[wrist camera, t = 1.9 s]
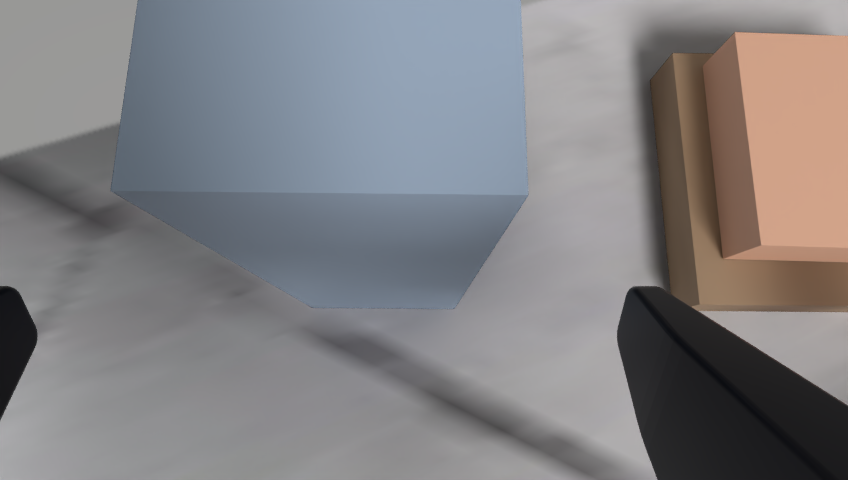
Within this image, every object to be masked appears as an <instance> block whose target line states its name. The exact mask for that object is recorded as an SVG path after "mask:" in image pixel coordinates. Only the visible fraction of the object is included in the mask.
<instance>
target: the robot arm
mask: <svg viewBox="0 0 848 480" xmlns="http://www.w3.org/2000/svg"><path fill="white" fill-rule="evenodd" d="M617 341H618V347H619V351H620V355H621V358H622V362H623V366H624V370H625V374H626V378H627V382H628V386H629V390H630V394H631V398H632V402H633V406H634V410H635V414H636V418H637V422H638V425H639V429H640V432H641V436H642V439H643V442H644V444H645V447H646V450H647V453H648V456H649V458H650V461H651V463H652V466H653V469H654V471H655V474H656V477H657V479H658V480H848V405H846V404H845V403H843V402H841V401H840V400H838V399H837V398H835V397H833V396H832V395H830V394H829V393H827V392H826V391H824V390H822V389H821V388H819V387H818V386H816V385H814V384H813V383H811V382H810V381H808V380H806V379H805V378H803V377H802V376H800V375H799V374H797V373H795V372H794V371H792V370H791V369H789V368H787V367H786V366H784V365H783V364H781V363H780V362H778V361H776V360H775V359H773V358H772V357H770V356H768V355H767V354H765V353H764V352H762V351H760V350H759V349H757V348H756V347H754V346H753V345H751V344H749V343H748V342H746V341H745V340H743V339H741V338H740V337H738V336H737V335H735V334H734V333H732V332H730V331H729V330H727V329H726V328H724V327H722V326H721V325H719V324H718V323H716V322H715V321H713V320H711V319H710V318H708V317H707V316H705V315H703V314H702V313H700V312H699V311H697V310H695V309H694V308H692V307H691V306H689V305H688V304H686V303H684V302H683V301H681V300H680V299H678V298H676V297H675V296H673V295H672V294H670V293H669V292H667V291H665V290H664V289H662V288H660V287H657V286H634V287H632V288H630V289H629V291H628V292H627V295H626V298H625V302H624V306H623V310H622V314H621V317H620V321H619V325H618V330H617ZM36 343H37V329H36V326H35V324H34V322H33V320H32V318H31V316H30V314H29V312H28V310H27V307H26V305H25V303H24V301H23V299H22V297H21V295H20V293H19V292H18V291H17V290H16V289H14V288H12V287H9V286H0V420H1V418H2V416H3V413H4V411H5V409H6V407H7V405H8V403H9V401H10V399H11V397H12V395H13V392H14V390H15V388H16V386H17V384H18V382H19V380H20V378H21V376H22V374H23V371H24V369H25V367H26V365H27V363H28V361H29V359H30V357H31V355H32V353H33V350H34V348H35V346H36Z"/></svg>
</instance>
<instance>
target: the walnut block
mask: <svg viewBox="0 0 848 480" xmlns="http://www.w3.org/2000/svg"><path fill="white" fill-rule="evenodd" d="M713 55H714V54H710V53H672V54H671V56H670V57H669V58H668V59H667V60H666V62H665V63H664V64H663V65H662V67H661V68H660V69H659V70H658V71H657V73H656V74H655V75H654V76H653V78H652V79H651V80H650V85H651V95H652V105H653V116H654V126H655V136H656V147H657V157H658V167H659V178H660V188H661V198H662V209H663V219H664V229H665V240H666V250H667V260H668V271H669V281H670V291H671V294H672V295H673V296H675V297H676V298H678V299H680V300H681V301H683V302H684V303H686V304H688V305H689V306H691V307H692V308H694V309H695V310H697V311H781V312H848V262H815V261H778V260H742V259H723V254H722V245H721V235H720V226H719V217H718V207H717V198H716V188H715V179H714V169H713V160H712V151H711V141H710V132H709V122H708V113H707V103H706V94H705V85H704V75H703V65H704V64H705V63H706V62H707V61H708V60H709V59H710V58H711V57H712V56H713Z"/></svg>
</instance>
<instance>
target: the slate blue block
mask: <svg viewBox="0 0 848 480" xmlns="http://www.w3.org/2000/svg"><path fill="white" fill-rule="evenodd" d="M111 192H113V193H115V194H117V195H118V196H120V197H122V198H124V199H125V200H127V201H129V202H130V203H132V204H134V205H136V206H137V207H139V208H141V209H143V210H144V211H146V212H148V213H149V214H151V215H153V216H155V217H156V218H158V219H160V220H162V221H163V222H165V223H167V224H168V225H170V226H172V227H174V228H175V229H177V230H179V231H181V232H182V233H184V234H186V235H187V236H189V237H191V238H193V239H194V240H196V241H198V242H200V243H201V244H203V245H205V246H206V247H208V248H210V249H212V250H213V251H215V252H217V253H219V254H220V255H222V256H224V257H225V258H227V259H229V260H231V261H232V262H234V263H236V264H238V265H239V266H241V267H243V268H244V269H246V270H248V271H250V272H251V273H253V274H255V275H257V276H258V277H260V278H262V279H263V280H265V281H267V282H269V283H270V284H272V285H274V286H276V287H277V288H279V289H281V290H282V291H284V292H286V293H288V294H289V295H291V296H293V297H295V298H296V299H298V300H300V301H301V302H303V303H305V304H307V305H308V306H310V307H312V308H418V309H454V308H455V307H456V305H457V304H458V302H459V301H460V299H461V298H462V296H463V295H464V293H465V292H466V290H467V289H468V287H469V285H470V284H471V282H472V281H473V279H474V278H475V276H476V275H477V273H478V272H479V270H480V269H481V267H482V266H483V264H484V262H485V261H486V259H487V258H488V256H489V255H490V253H491V252H492V250H493V249H494V247H495V246H496V244H497V243H498V241H499V239H500V238H501V236H502V235H503V233H504V232H505V230H506V229H507V227H508V226H509V224H510V223H511V221H512V220H513V218H514V216H515V215H516V213H517V212H518V210H519V209H520V207H521V206H522V204H523V203H524V201H525V200H526V198H527V197H528V172H527V147H526V121H525V96H524V71H523V46H522V21H521V0H138V3H137V10H136V17H135V24H134V31H133V38H132V46H131V52H130V59H129V65H128V72H127V79H126V86H125V93H124V101H123V107H122V115H121V121H120V128H119V135H118V142H117V149H116V156H115V163H114V170H113V177H112V184H111Z"/></svg>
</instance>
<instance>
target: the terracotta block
mask: <svg viewBox="0 0 848 480" xmlns="http://www.w3.org/2000/svg"><path fill="white" fill-rule="evenodd" d="M703 75H704V85H705V94H706V103H707V113H708V122H709V132H710V141H711V151H712V160H713V169H714V179H715V188H716V198H717V207H718V217H719V226H720V235H721V245H722V254H723V259H742V260H778V261H815V262H848V36H834V35H804V34H774V33H745V32H735V33H734V34H733V35H732V36H731V37H730V38H729V39H728V40H727V41H726V42H725V43H724V44H723V45H722V46H721V47H720V48H719V49H718V50H717V51H716V52H715V54H714V55H713V56H712V57H711V58H710V59H709V60H708V61H707V62H706V63H705V64H704V65H703Z"/></svg>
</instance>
